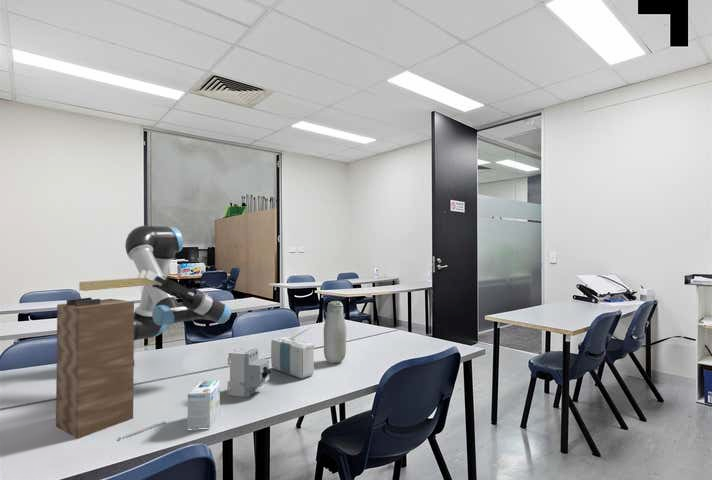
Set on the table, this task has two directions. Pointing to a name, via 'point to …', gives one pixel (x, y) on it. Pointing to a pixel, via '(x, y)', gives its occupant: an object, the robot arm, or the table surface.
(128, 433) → the ruler
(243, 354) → the circuit breaker
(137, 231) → the robot arm
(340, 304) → the grey water bottle
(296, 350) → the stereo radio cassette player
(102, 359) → the walnut stand
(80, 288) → the light wood bar
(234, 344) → the table surface
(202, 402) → the light bulb box
